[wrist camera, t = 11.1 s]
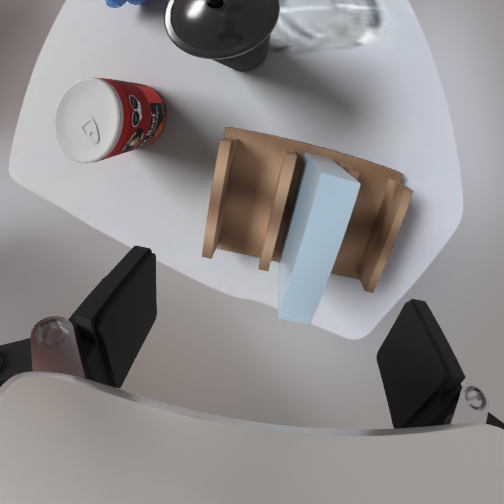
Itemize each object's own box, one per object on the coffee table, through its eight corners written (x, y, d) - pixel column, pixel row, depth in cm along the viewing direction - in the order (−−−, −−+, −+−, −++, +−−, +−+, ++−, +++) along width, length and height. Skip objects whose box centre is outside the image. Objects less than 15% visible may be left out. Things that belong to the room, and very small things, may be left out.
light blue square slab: (305, 152, 29) (321, 172, 18) (330, 158, 29) (360, 183, 18) (279, 253, 34) (277, 318, 23) (302, 258, 34) (310, 324, 23)
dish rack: (228, 126, 30) (216, 128, 24) (398, 171, 30) (420, 183, 24) (208, 240, 36) (196, 263, 30) (361, 274, 36) (373, 300, 31)
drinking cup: (274, 17, 23) (265, -91, 6) (284, 78, 27) (291, 16, 9) (205, 28, 24) (118, -54, 7) (213, 87, 28) (121, 53, 10)
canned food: (140, 160, 32) (89, 181, 22) (100, 120, 30) (42, 129, 20) (181, 112, 29) (137, 112, 19) (137, 72, 27) (82, 61, 17)
